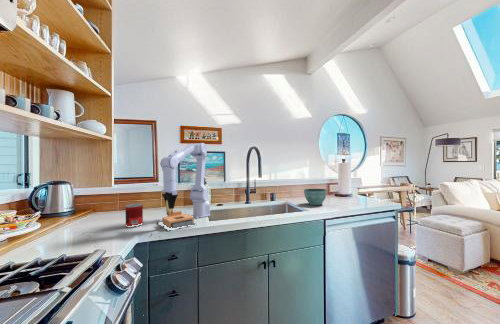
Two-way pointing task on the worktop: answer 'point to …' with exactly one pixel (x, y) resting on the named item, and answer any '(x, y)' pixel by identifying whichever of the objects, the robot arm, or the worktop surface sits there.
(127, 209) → the canned food
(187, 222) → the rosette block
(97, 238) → the worktop surface
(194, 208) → the robot arm
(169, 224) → the orange slotted block
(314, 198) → the flower pot
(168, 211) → the pin
